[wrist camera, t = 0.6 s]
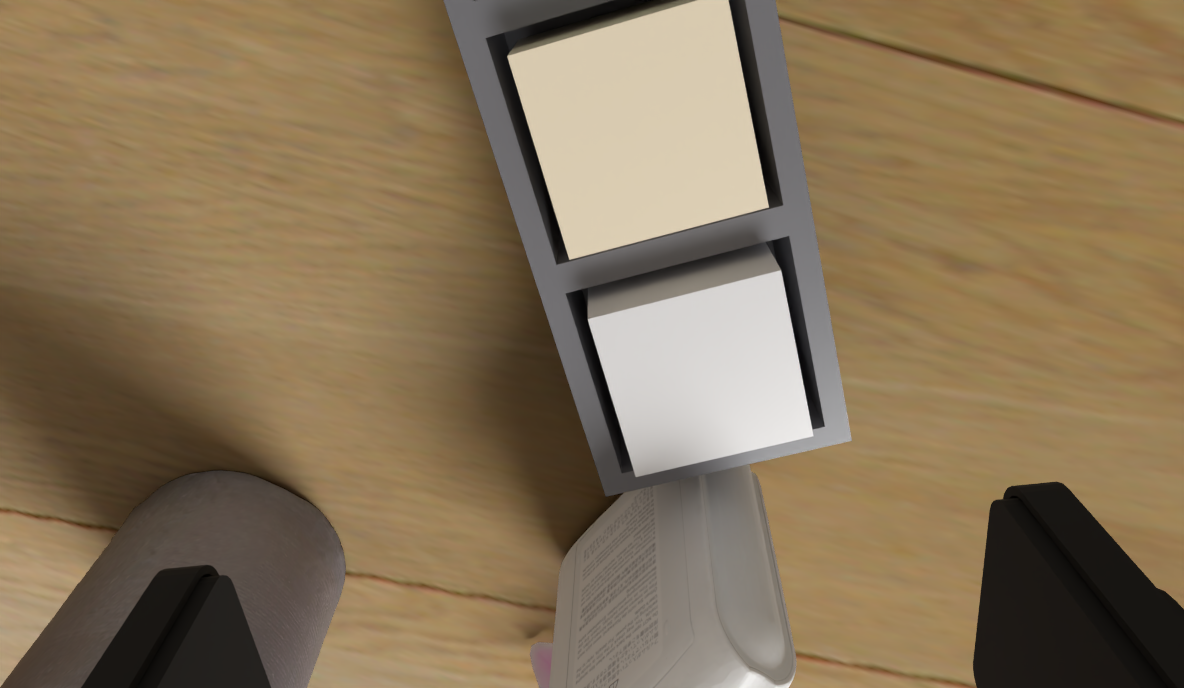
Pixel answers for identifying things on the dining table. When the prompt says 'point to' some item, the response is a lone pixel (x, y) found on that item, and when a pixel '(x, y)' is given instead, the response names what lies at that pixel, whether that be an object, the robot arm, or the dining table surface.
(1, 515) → the dining table surface
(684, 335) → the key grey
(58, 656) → the pillar candle
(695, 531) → the photo printer
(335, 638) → the dining table surface
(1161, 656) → the robot arm
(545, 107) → the key sand
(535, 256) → the grey compartment tray
